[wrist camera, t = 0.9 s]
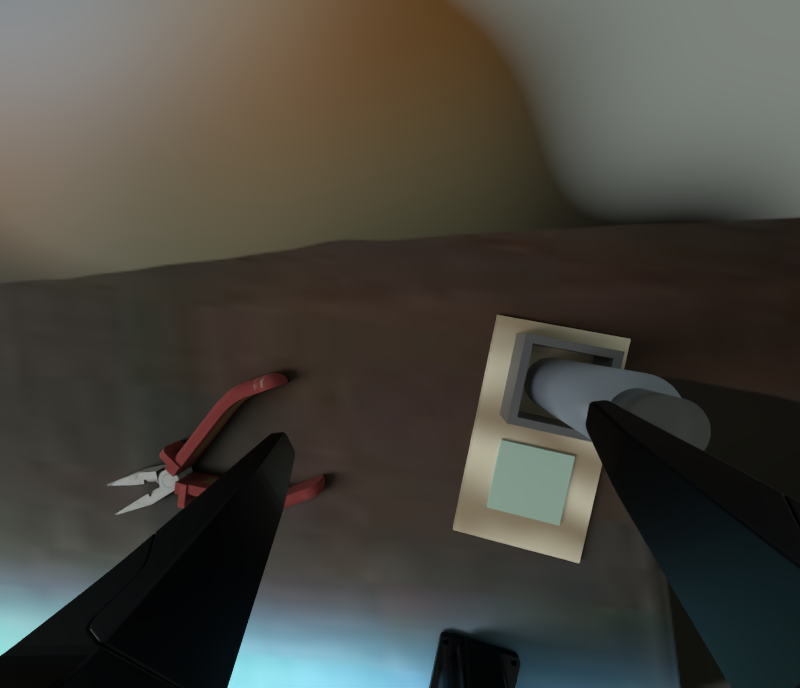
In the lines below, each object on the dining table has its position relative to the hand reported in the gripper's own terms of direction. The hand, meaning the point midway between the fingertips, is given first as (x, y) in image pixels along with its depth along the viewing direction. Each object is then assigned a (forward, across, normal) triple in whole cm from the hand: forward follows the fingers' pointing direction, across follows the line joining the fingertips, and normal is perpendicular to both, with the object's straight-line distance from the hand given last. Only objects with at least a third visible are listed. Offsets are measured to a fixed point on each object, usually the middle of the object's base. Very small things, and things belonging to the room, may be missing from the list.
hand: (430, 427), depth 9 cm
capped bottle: (+13, -9, +9) cm, 18 cm away
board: (+11, -8, +13) cm, 19 cm away
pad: (+9, -6, +16) cm, 19 cm away
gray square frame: (+13, -9, +9) cm, 18 cm away
